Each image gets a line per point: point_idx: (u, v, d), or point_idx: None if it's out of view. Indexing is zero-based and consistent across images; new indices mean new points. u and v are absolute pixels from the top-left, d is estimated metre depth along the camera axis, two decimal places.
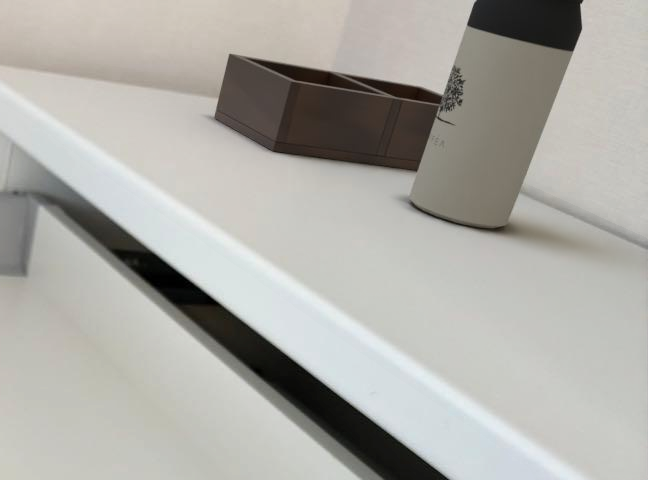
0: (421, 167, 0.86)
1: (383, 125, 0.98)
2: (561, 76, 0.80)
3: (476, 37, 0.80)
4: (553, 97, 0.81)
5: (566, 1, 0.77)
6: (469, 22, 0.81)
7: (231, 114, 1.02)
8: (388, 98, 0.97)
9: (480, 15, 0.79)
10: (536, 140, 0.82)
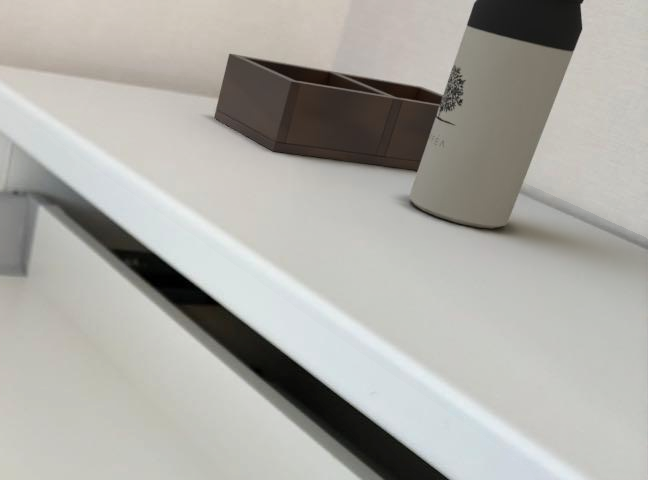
0: (421, 167, 0.86)
1: (383, 125, 0.98)
2: (561, 76, 0.80)
3: (477, 37, 0.80)
4: (553, 97, 0.81)
5: (566, 1, 0.77)
6: (469, 22, 0.81)
7: (231, 114, 1.02)
8: (388, 98, 0.97)
9: (480, 15, 0.79)
10: (536, 140, 0.82)
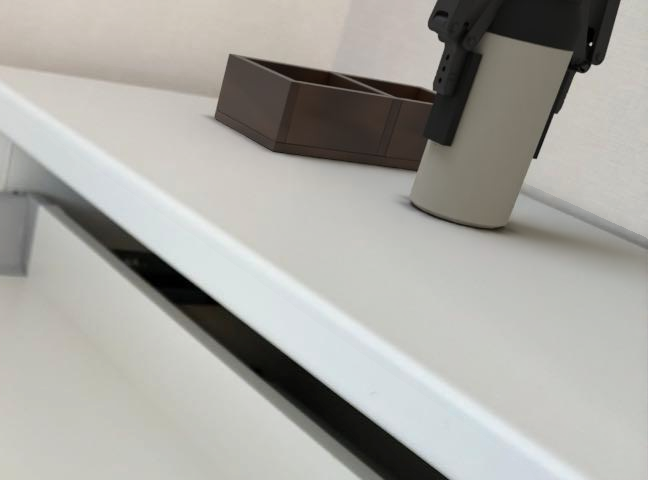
0: (421, 167, 0.86)
1: (383, 125, 0.98)
2: (561, 76, 0.80)
3: None
4: (553, 97, 0.81)
5: (566, 1, 0.77)
6: None
7: (231, 114, 1.02)
8: (388, 98, 0.97)
9: None
10: (536, 140, 0.82)
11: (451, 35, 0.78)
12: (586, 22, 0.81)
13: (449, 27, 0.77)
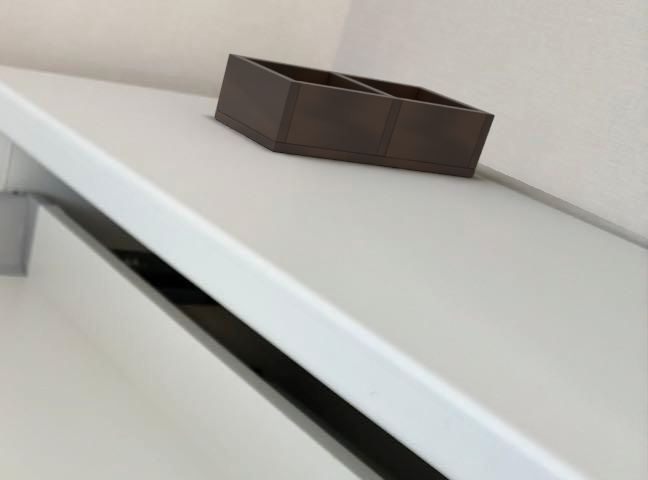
0: None
1: (383, 125, 0.98)
2: None
3: None
4: None
5: None
6: None
7: (231, 114, 1.02)
8: (388, 98, 0.97)
9: None
10: None
11: None
12: None
13: None
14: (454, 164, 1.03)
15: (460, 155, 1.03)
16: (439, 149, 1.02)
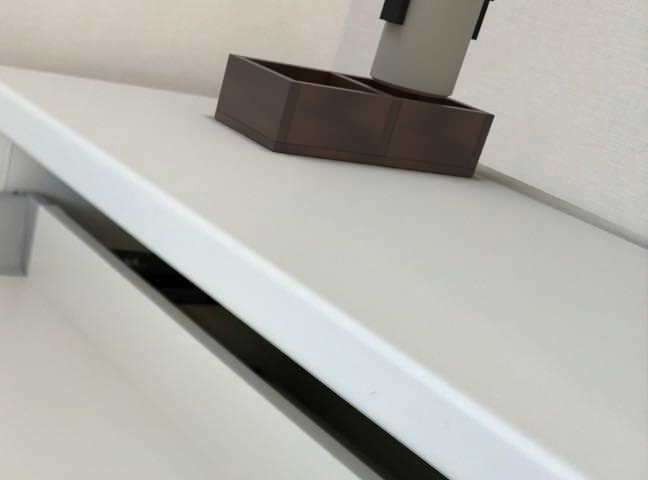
0: (378, 46, 1.02)
1: (383, 125, 0.98)
2: None
3: None
4: None
5: None
6: None
7: (231, 114, 1.02)
8: (388, 98, 0.97)
9: None
10: (473, 20, 0.99)
11: None
12: None
13: None
14: (454, 164, 1.03)
15: (460, 155, 1.03)
16: (439, 149, 1.02)
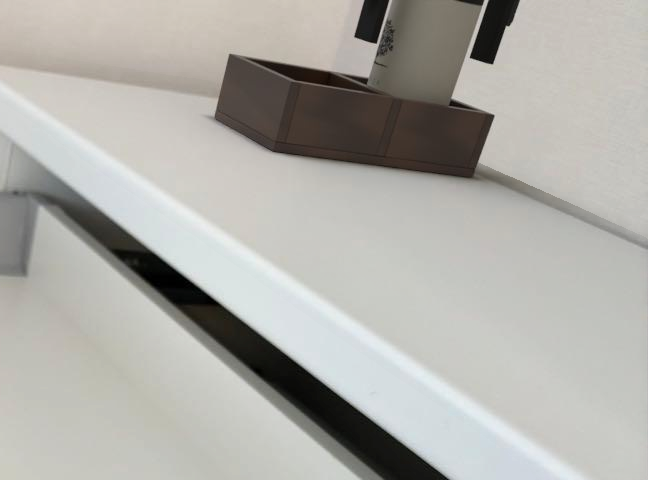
0: None
1: (383, 125, 0.98)
2: (472, 26, 0.99)
3: None
4: (466, 43, 1.00)
5: None
6: None
7: (231, 114, 1.02)
8: (388, 98, 0.97)
9: None
10: (454, 79, 1.01)
11: None
12: None
13: None
14: (454, 164, 1.03)
15: (460, 155, 1.03)
16: (439, 149, 1.02)
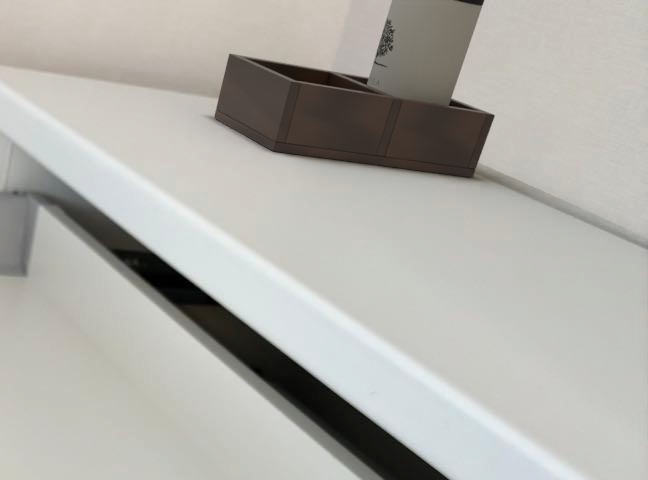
0: None
1: (383, 125, 0.98)
2: (472, 26, 0.99)
3: None
4: (466, 43, 1.00)
5: None
6: None
7: (231, 114, 1.02)
8: (388, 98, 0.97)
9: None
10: (454, 79, 1.01)
11: None
12: None
13: None
14: (454, 164, 1.03)
15: (460, 155, 1.03)
16: (439, 149, 1.02)
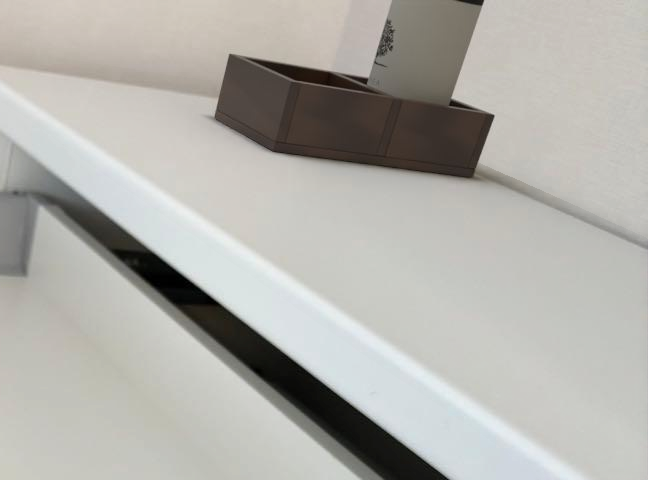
0: None
1: (383, 125, 0.98)
2: (472, 26, 0.99)
3: None
4: (466, 43, 1.00)
5: None
6: None
7: (231, 114, 1.02)
8: (388, 98, 0.97)
9: None
10: (454, 79, 1.01)
11: None
12: None
13: None
14: (454, 164, 1.03)
15: (460, 155, 1.03)
16: (439, 149, 1.02)
